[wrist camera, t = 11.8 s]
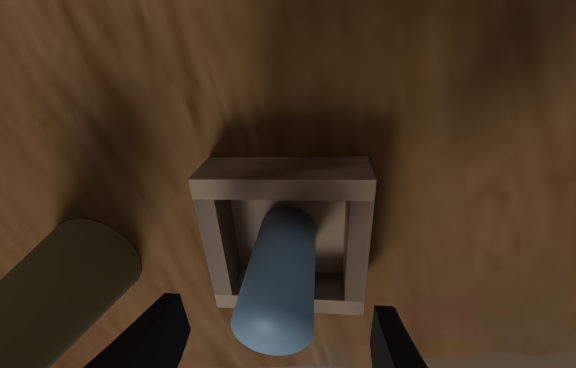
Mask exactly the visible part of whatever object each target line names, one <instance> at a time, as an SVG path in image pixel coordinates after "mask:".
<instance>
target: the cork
mask: <svg viewBox="0 0 576 368" xmlns="http://www.w3.org/2000/svg"><path fill="white" fill-rule="evenodd" d="M141 271H142V270H141V260H140V258H139V256H138V254H137V252H136V250H135V248H134V247H133V246H132V245H131V244H130V242H129V241H128V240H127V239H126V238H125V237H124V236H122V235H121V234H120V233H118V232H117V231H116V230H114V229H113V228H111V227H109V226H106V225H104V224H102V223H100V222H97V221H93V220H88V219H70V220H68V221H65V222H63V223H61V224H59V225H58V226H57V227H56V228H55V229H54V230H53V231H52V232H51V233H50V234H49V235H48V236H47V237H46V238H45V239H44V240H43V241H42V242H40V243H39V244H38V245H37V246H36V247H35V248H34V249H33V250H32V251H31V252H30V253H29V254H28V255H27V256H26V257H25V258H24V259H23V260H21V261H20V262H19V263H18V264H17V265H16V266H15V267H14V268H13V269H12V270H11V271H10V272H9V273H8V274H7V275H6V276H5V277H4V278H2V279H1V280H0V368H50V367H51V366H52V365H53V364H54V363H55V362H56V361H57V360H58V359H59V358H60V357H61V356H62V355H63V354H64V353H65V352H66V351H67V350H68V349H69V348H70V347H71V346H72V345H73V344H74V343H75V342H76V341H77V340H78V339H79V338H80V337H81V336H82V335H83V334H84V333H85V332H86V331H87V330H88V329H89V328H90V327H91V326H92V325H93V324H94V323H95V322H96V321H97V320H98V319H99V318H100V317H101V316H102V315H103V314H104V313H105V312H106V311H107V310H108V309H109V308H110V307H111V306H112V305H113V304H114V303H115V302H116V301H117V300H118V299H119V298H120V297H121V296H122V295H123V294H124V293H125V292H126V291H127V290H128V289H129V288H130V287H131V286H132V285H133V284H134V283H135V282H136V281H137V280H138V279H139V276H140V274H141Z"/></svg>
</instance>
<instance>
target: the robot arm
mask: <svg viewBox="0 0 576 368" xmlns="http://www.w3.org/2000/svg"><path fill="white" fill-rule="evenodd" d="M190 330H191V329H190V326H189V322H188V319H187V316H186V313H185V310H184V306H183V303H182V300H181V297H180V294H172V293H164V294H163V295H162V296H161V297H160V298H159V299H158V300H157V301H156V302H155V303H153V304H152V305H151V306H150V307H149V308H148V309H147V310H146V311H145V312H144V313H143V314H142V315H141V316H140V317H139V318H138V319H137V320H136V321H134V322H133V323H132V324H131V325H130V326H129V327H128V328H127V329H126V330H125V331H124V332H123V333H122V334H121V335H119V336H118V337H117V338H116V339H115V340H114V341H113V342H112V343H111V344H110V345H109V346H107V347H106V348H105V349H104V350H103V351H102V352H101V353H99V354H98V355H97V356H96V357H95V358H94V359H93V360H91V361H90V362H89V363H88V364H87V365H86V366H84V367H83V368H177V367H178V365H179V362H180V360H181V357H182V355H183V352H184V349H185V346H186V343H187V340H188V337H189V333H190ZM370 349H371V359H372V368H428V367H427V365H426V363H425V362H424V360H423V359H422V357H421V355H420V354H419V352H418V350H417V349H416V347H415V345H414V343H413V341H412V340H411V338H410V336H409V334H408V332H407V331H406V329H405V327H404V325H403V323H402V321H401V319H400V317H399V315H398V313H397V311H396V309H395V308H394V307H393V306H377V305H375V306H374V314H373V322H372V330H371V338H370Z"/></svg>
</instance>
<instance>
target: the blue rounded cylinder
mask: <svg viewBox="0 0 576 368" xmlns="http://www.w3.org/2000/svg"><path fill="white" fill-rule="evenodd" d="M315 248H316V226H315V223H314V221H313V219H312V218H311V217H310V216H309V215H308V214H307V213H306V212H305V211H303V210H301V209H299V208H296V207H291V206H282V207H277V208H275V209H273V210H271V211H269V212H268V213H267V214H266V215H265V216H264V218H263V220H262V223H261V226H260V229H259V233H258V236H257V239H256V242H255V245H254V248H253V251H252V255H251V258H250V261H249V264H248V267H247V270H246V274H245V277H244V280H243V283H242V286H241V289H240V293H239V296H238V299H237V302H236V305H235V308H234V311H233V315H232V318H231V329H232V331H233V333H234V335H235V336H236V338H237V339H238V340H239V341H240V342H241V343H242V344H244V345H245V346H247V347H248V348H250V349H252V350H255V351H257V352H260V353H264V354H268V355H289V354H293V353H296V352H299V351H301V350H303V349H304V348H306V347H307V346H308V345H309V344H310V342H311V340H312V338H313V333H314V290H315Z"/></svg>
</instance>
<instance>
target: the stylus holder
mask: <svg viewBox="0 0 576 368" xmlns="http://www.w3.org/2000/svg"><path fill="white" fill-rule="evenodd" d="M376 181H377V180H376V177H375V174H374V172H373V169H372V166H371V164H370V161H369V159H368V156H334V157H209V158H208V159H207V160H206V161H205V162H204V163H203V164H202V165H201V166H200V167H199V168H198V169H197V170H196V172H195V173H194V174H193V175H192V176H191V177H190V178H189V179H188V182H189V186H190V191H191V195H192V199H193V204H194V208H195V212H196V217H197V221H198V225H199V229H200V234H201V238H202V242H203V247H204V251H205V255H206V260H207V264H208V268H209V273H210V277H211V281H212V286H213V290H214V294H215V299H216V303H217V307H224V308H235V305H236V302H237V299H238V296H239V293H240V289H241V286H242V283H243V280H244V277H245V274H246V270H247V267H248V264H249V261H250V258H251V255H252V251H253V248H254V245H255V242H256V239H257V236H258V233H259V229H260V226H261V223H262V220H263V218H264V216H265V215H266V214H267V213H268V212H269V211H271V210H273V209H275V208H277V207H282V206H291V207H296V208H299V209H301V210H303V211H305V212H306V213H307V214H308V215H309V216H310V217H311V218H312V219H313V221H314V223H315V226H316V248H315V290H314V313H330V314H347V315H363V310H364V300H365V290H366V280H367V270H368V261H369V251H370V241H371V231H372V221H373V211H374V201H375V191H376Z"/></svg>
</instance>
